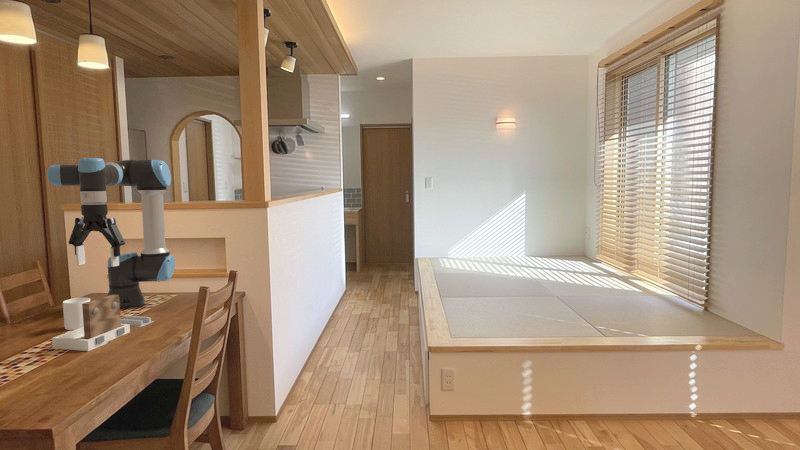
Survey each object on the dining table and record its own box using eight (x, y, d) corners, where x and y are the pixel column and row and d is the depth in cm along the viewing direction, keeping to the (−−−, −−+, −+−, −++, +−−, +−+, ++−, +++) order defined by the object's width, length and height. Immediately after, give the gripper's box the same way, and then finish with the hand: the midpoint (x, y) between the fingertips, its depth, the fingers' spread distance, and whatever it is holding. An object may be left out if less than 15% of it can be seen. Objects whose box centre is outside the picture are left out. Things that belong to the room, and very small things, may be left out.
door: (115, 332, 170) (113, 294, 169) (122, 332, 170) (119, 294, 168) (84, 344, 157) (82, 303, 156) (92, 345, 157) (89, 304, 156)
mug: (97, 329, 177) (95, 301, 176) (60, 332, 174) (58, 303, 173) (105, 323, 185) (103, 296, 184) (70, 325, 182) (68, 298, 181)
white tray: (97, 331, 175) (96, 322, 174) (131, 333, 172) (130, 324, 171) (52, 348, 157) (52, 338, 157) (89, 351, 154) (89, 340, 154)
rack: (126, 320, 188) (125, 314, 187) (154, 322, 185) (154, 316, 185) (112, 326, 181) (112, 320, 181) (141, 328, 178) (141, 321, 178)
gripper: (53, 204, 159) (57, 266, 161) (117, 204, 154) (121, 268, 156) (72, 202, 166) (76, 262, 168) (134, 203, 161) (137, 264, 163)
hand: (98, 265), depth 162 cm, fingers open, 13 cm apart
